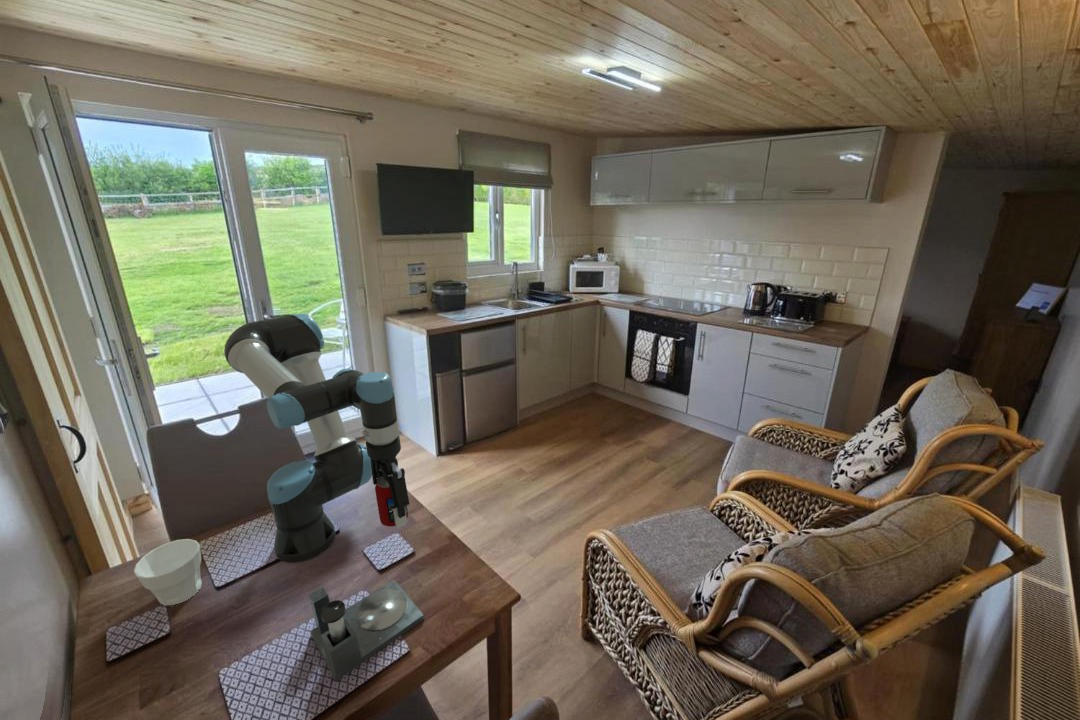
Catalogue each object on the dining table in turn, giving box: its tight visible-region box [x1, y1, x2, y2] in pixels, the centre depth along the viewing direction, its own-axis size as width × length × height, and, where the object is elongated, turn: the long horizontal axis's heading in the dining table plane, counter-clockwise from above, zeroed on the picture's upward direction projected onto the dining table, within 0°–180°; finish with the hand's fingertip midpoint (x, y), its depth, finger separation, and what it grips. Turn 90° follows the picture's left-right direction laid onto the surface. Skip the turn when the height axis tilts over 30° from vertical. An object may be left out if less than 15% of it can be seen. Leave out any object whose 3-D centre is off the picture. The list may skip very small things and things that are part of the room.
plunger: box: [321, 599, 347, 647], centre depth 90 cm, size 4×4×9 cm
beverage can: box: [374, 474, 409, 527], centre depth 110 cm, size 7×7×12 cm
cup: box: [133, 538, 203, 605], centre depth 109 cm, size 12×12×11 cm
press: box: [308, 579, 425, 683], centre depth 99 cm, size 14×20×10 cm
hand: (394, 517), depth 112 cm, fingers closed on beverage can, 7 cm apart
